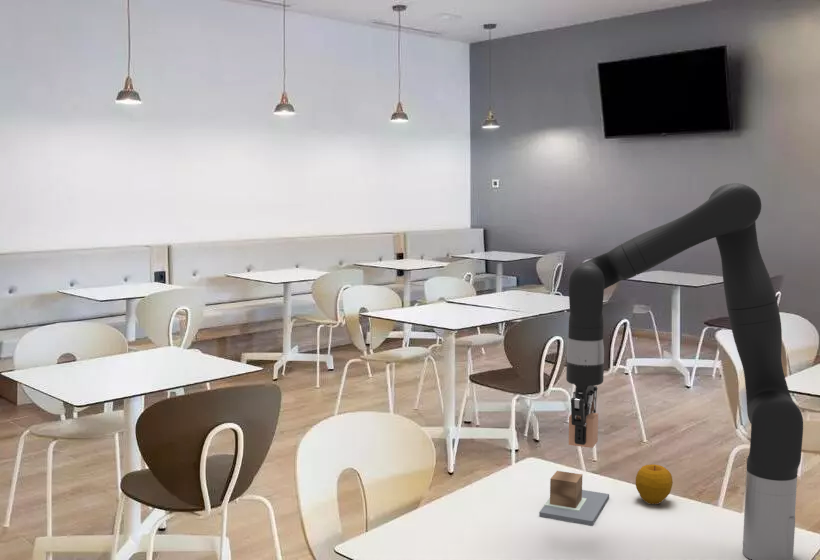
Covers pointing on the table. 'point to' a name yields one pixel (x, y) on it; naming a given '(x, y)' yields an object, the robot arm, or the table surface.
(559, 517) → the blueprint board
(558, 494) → the walnut block
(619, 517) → the table surface
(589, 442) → the terracotta block
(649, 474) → the apple
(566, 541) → the table surface
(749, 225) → the robot arm
